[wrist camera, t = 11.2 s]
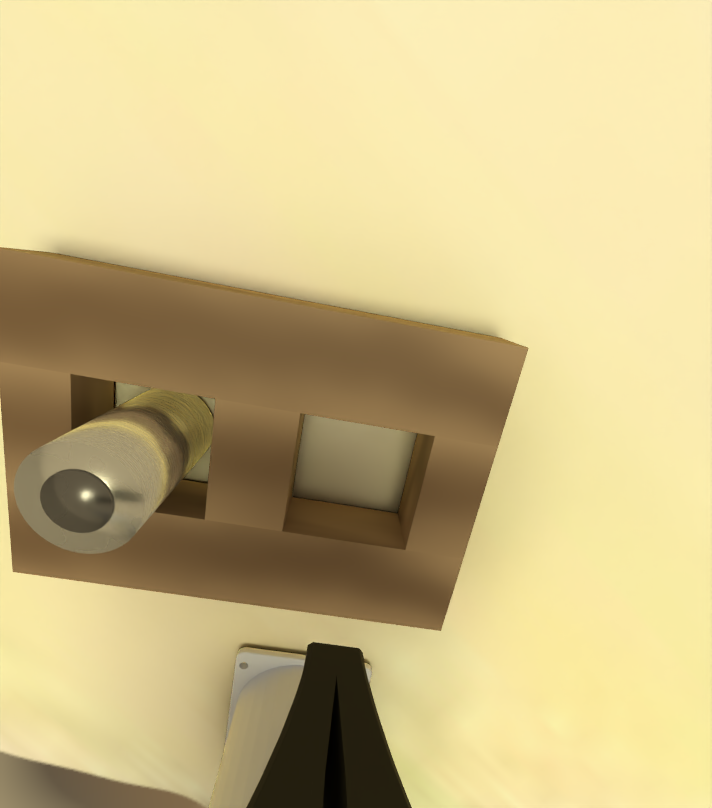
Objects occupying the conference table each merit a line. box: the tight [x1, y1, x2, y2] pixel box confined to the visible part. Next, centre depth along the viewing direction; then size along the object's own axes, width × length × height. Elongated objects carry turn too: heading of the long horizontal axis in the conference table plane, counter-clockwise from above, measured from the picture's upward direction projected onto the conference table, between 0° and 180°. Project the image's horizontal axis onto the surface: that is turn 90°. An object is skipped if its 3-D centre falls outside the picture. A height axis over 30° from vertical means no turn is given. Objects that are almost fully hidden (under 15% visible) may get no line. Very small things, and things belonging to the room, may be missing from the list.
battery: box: [14, 388, 214, 554], centre depth 16 cm, size 4×4×7 cm
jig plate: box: [0, 247, 528, 631], centre depth 18 cm, size 14×20×3 cm
